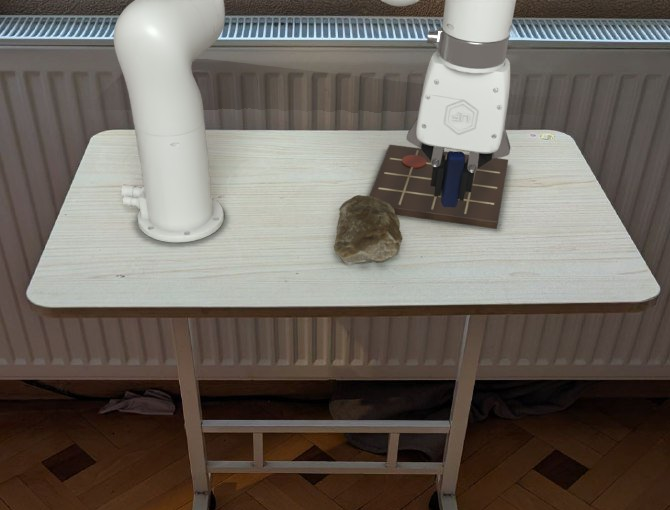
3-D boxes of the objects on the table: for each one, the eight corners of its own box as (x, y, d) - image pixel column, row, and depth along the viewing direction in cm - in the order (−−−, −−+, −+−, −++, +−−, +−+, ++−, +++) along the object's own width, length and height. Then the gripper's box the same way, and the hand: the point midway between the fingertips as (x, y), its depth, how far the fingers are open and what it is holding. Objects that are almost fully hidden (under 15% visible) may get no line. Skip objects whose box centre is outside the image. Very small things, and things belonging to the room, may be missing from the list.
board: (365, 210, 127) (366, 202, 126) (389, 150, 141) (389, 143, 140) (496, 229, 124) (498, 220, 123) (507, 166, 138) (508, 158, 137)
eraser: (439, 198, 108) (446, 149, 103) (457, 199, 108) (465, 150, 103) (440, 207, 106) (447, 158, 101) (458, 208, 106) (466, 159, 101)
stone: (326, 212, 123) (361, 174, 118) (366, 240, 126) (401, 204, 122) (330, 262, 114) (368, 223, 110) (373, 291, 117) (412, 253, 113)
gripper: (396, 50, 91) (382, 198, 104) (543, 70, 89) (511, 218, 102) (407, 26, 97) (393, 169, 109) (547, 44, 95) (515, 188, 107)
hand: (450, 192), depth 106 cm, fingers closed on eraser, 2 cm apart
